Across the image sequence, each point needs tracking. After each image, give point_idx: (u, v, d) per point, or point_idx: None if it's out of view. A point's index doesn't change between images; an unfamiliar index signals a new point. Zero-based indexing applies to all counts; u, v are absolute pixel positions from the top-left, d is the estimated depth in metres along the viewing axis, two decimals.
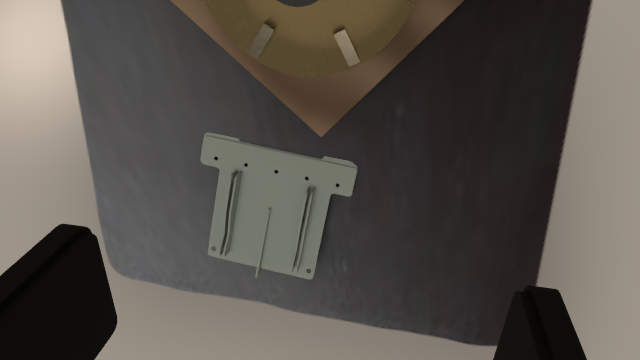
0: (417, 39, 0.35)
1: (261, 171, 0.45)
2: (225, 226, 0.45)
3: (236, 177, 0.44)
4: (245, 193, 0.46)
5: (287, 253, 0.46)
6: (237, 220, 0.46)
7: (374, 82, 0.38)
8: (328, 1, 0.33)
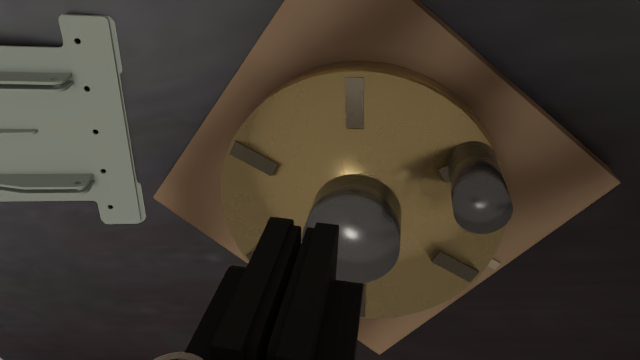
0: None
1: (86, 112, 0.31)
2: None
3: (60, 90, 0.28)
4: (41, 92, 0.30)
5: None
6: None
7: (235, 252, 0.33)
8: None
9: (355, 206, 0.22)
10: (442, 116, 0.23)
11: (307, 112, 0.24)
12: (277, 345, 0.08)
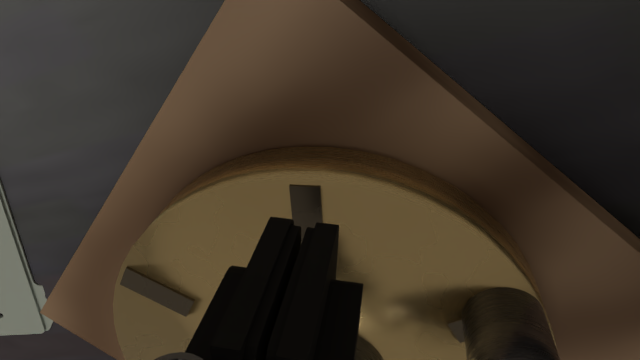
0: None
1: None
2: None
3: None
4: None
5: None
6: None
7: None
8: None
9: None
10: (454, 249, 0.13)
11: (232, 232, 0.15)
12: (277, 345, 0.08)
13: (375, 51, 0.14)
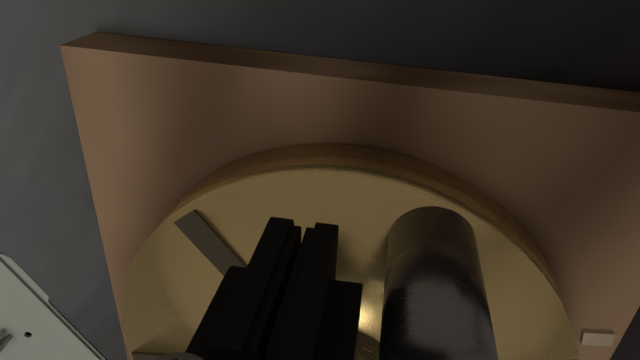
0: None
1: (44, 356, 0.26)
2: None
3: None
4: None
5: None
6: None
7: None
8: None
9: None
10: (334, 202, 0.13)
11: (172, 284, 0.16)
12: (276, 345, 0.08)
13: (189, 74, 0.15)
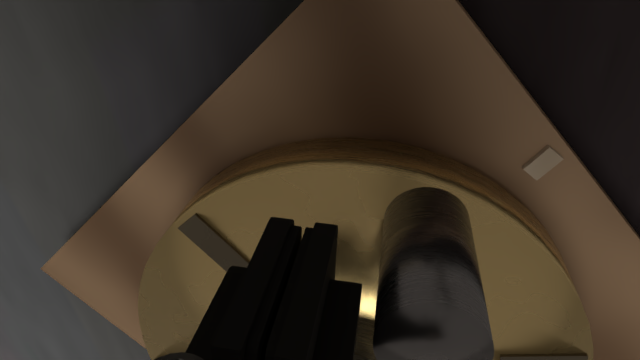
0: None
1: None
2: None
3: None
4: None
5: None
6: None
7: None
8: None
9: None
10: (326, 193, 0.13)
11: (184, 288, 0.16)
12: (276, 345, 0.08)
13: (97, 227, 0.19)
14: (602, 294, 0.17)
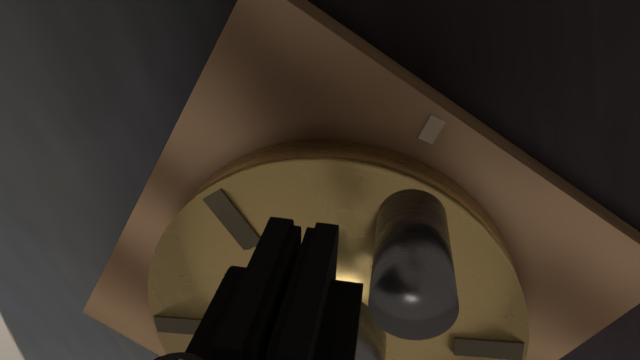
0: None
1: None
2: None
3: None
4: None
5: None
6: None
7: None
8: None
9: None
10: (335, 184, 0.16)
11: (195, 253, 0.19)
12: (277, 345, 0.08)
13: (115, 266, 0.23)
14: (529, 230, 0.19)
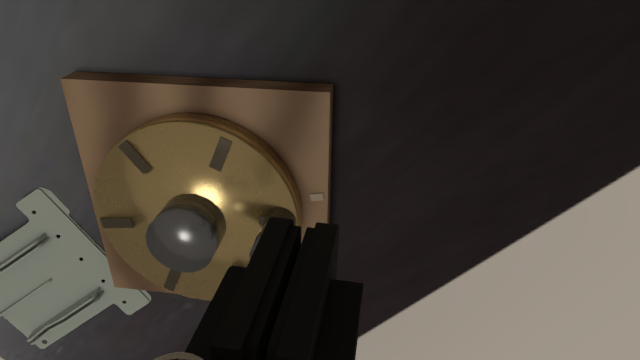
0: None
1: (68, 250, 0.44)
2: None
3: (39, 246, 0.42)
4: (37, 254, 0.44)
5: (36, 319, 0.46)
6: (11, 268, 0.44)
7: None
8: None
9: (193, 222, 0.32)
10: (272, 186, 0.33)
11: (186, 144, 0.33)
12: (277, 345, 0.08)
13: (117, 87, 0.34)
14: None
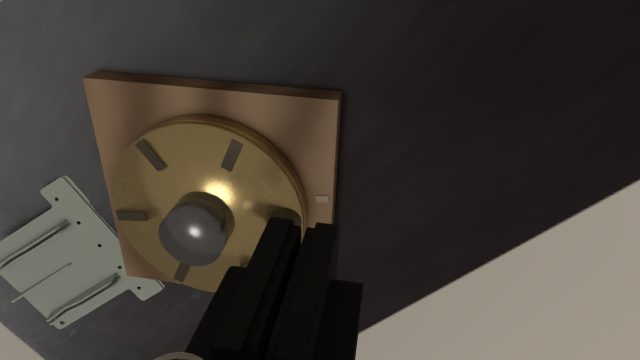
0: None
1: (87, 236, 0.46)
2: (17, 253, 0.45)
3: (61, 232, 0.44)
4: (58, 239, 0.46)
5: (55, 300, 0.48)
6: (32, 251, 0.46)
7: None
8: None
9: (203, 220, 0.34)
10: (280, 187, 0.35)
11: (199, 145, 0.34)
12: (277, 345, 0.08)
13: (135, 88, 0.36)
14: None
